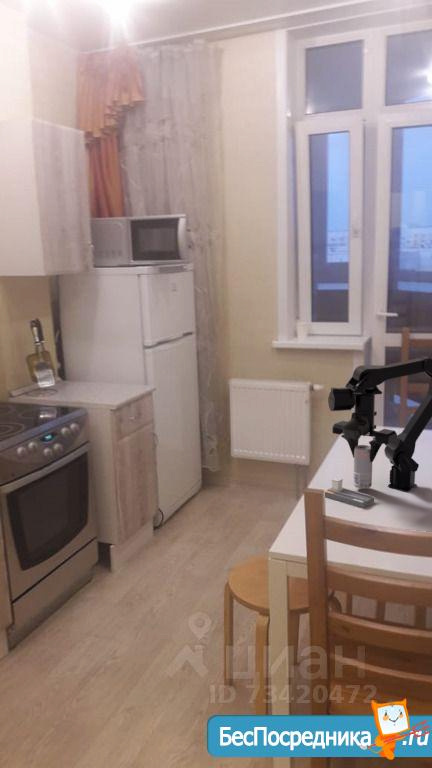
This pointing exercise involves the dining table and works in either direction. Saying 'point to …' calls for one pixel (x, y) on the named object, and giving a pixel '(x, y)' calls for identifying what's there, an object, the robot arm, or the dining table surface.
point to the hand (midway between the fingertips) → (363, 459)
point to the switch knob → (337, 484)
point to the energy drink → (362, 467)
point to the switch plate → (350, 497)
